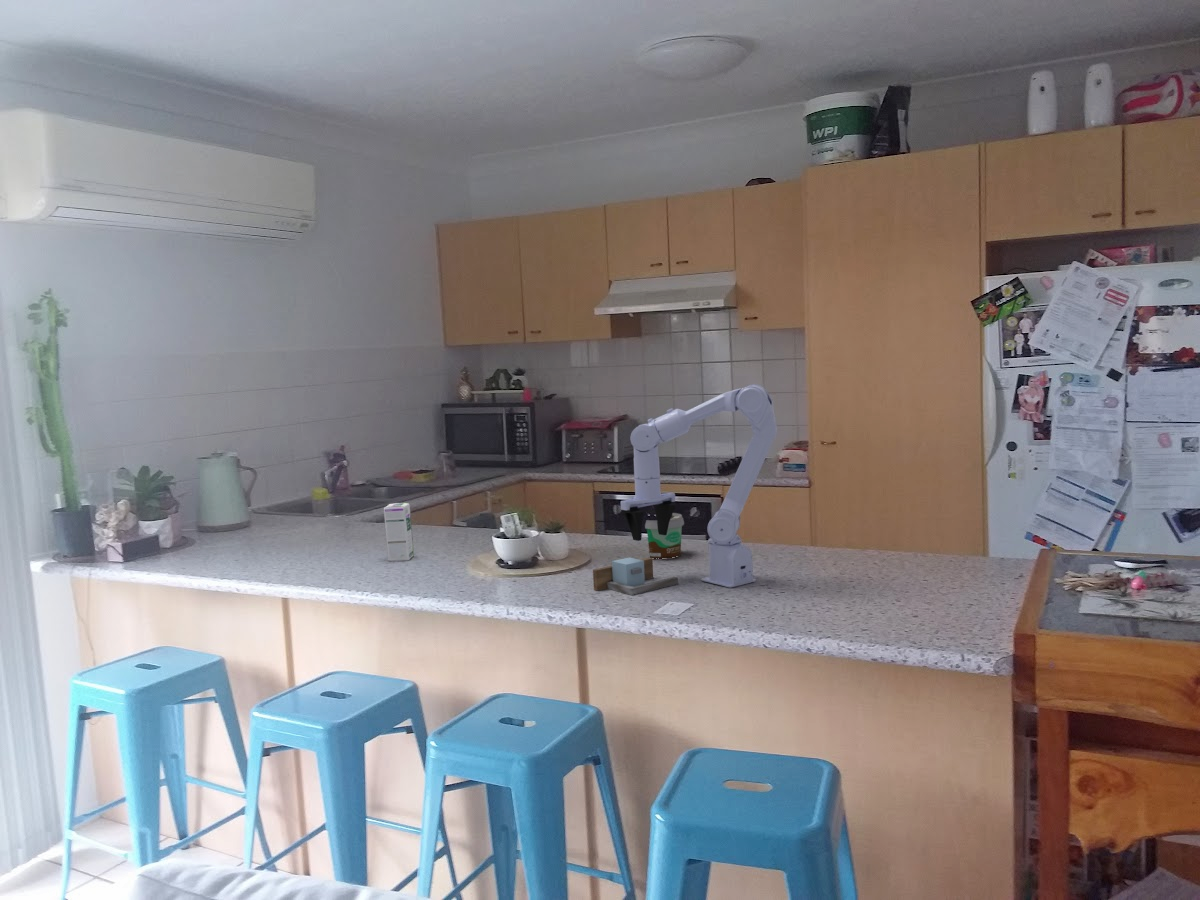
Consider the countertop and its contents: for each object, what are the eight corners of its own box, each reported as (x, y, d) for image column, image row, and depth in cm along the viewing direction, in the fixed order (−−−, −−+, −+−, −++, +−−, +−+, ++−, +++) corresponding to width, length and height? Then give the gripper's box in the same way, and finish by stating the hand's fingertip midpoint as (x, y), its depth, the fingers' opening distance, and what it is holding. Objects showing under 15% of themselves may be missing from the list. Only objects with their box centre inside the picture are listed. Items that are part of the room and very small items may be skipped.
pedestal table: (678, 584, 210) (677, 564, 210) (621, 597, 201) (620, 576, 200) (649, 576, 218) (649, 557, 218) (593, 589, 209) (592, 569, 208)
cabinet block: (647, 588, 208) (646, 561, 208) (629, 592, 205) (628, 565, 205) (630, 583, 213) (629, 557, 212) (613, 587, 210) (611, 561, 209)
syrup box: (409, 560, 248) (405, 505, 246) (387, 561, 248) (383, 506, 246) (414, 555, 253) (410, 502, 252) (392, 556, 254) (388, 503, 252)
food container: (666, 562, 232) (664, 522, 230) (646, 560, 235) (644, 520, 234) (695, 553, 241) (693, 514, 240) (675, 550, 245) (673, 512, 244)
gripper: (659, 472, 220) (662, 530, 221) (610, 480, 211) (613, 540, 213) (680, 474, 214) (683, 533, 216) (631, 482, 206) (634, 544, 207)
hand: (650, 537), depth 214 cm, fingers open, 7 cm apart
